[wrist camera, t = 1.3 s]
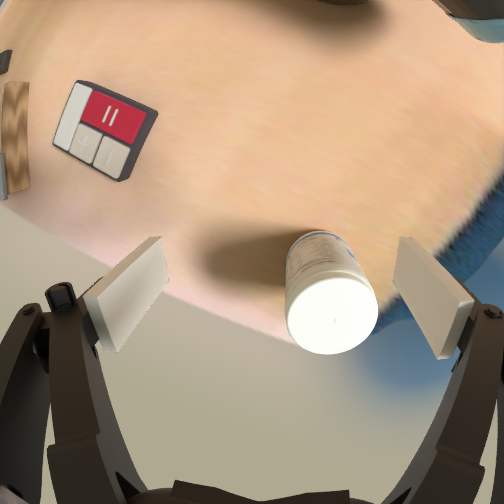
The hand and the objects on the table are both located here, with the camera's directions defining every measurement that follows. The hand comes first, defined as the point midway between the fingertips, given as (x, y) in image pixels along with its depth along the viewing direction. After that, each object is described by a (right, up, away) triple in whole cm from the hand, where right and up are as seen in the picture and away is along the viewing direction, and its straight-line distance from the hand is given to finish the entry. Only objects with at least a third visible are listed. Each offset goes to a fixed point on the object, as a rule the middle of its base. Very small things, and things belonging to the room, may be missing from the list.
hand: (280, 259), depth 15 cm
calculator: (-23, +19, +21) cm, 37 cm away
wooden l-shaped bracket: (-47, +23, +21) cm, 57 cm away
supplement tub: (+8, -1, +25) cm, 26 cm away
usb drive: (-58, +42, +15) cm, 73 cm away
